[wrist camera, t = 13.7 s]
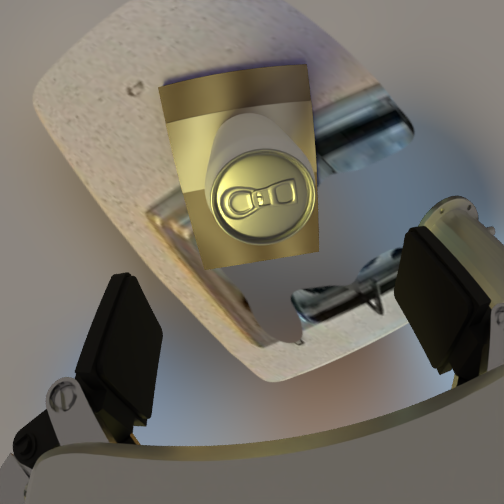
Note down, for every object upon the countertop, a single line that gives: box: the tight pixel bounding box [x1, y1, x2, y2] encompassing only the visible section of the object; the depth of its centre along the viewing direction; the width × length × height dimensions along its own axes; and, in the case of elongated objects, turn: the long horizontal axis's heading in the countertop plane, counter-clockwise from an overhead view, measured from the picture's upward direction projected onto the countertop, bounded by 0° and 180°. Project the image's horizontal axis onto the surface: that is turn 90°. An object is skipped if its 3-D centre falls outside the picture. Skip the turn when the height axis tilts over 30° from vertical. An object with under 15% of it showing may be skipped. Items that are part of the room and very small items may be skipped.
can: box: [205, 113, 316, 245], centre depth 20 cm, size 6×6×12 cm
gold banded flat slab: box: [158, 64, 319, 270], centre depth 27 cm, size 13×20×2 cm, turn 8°
